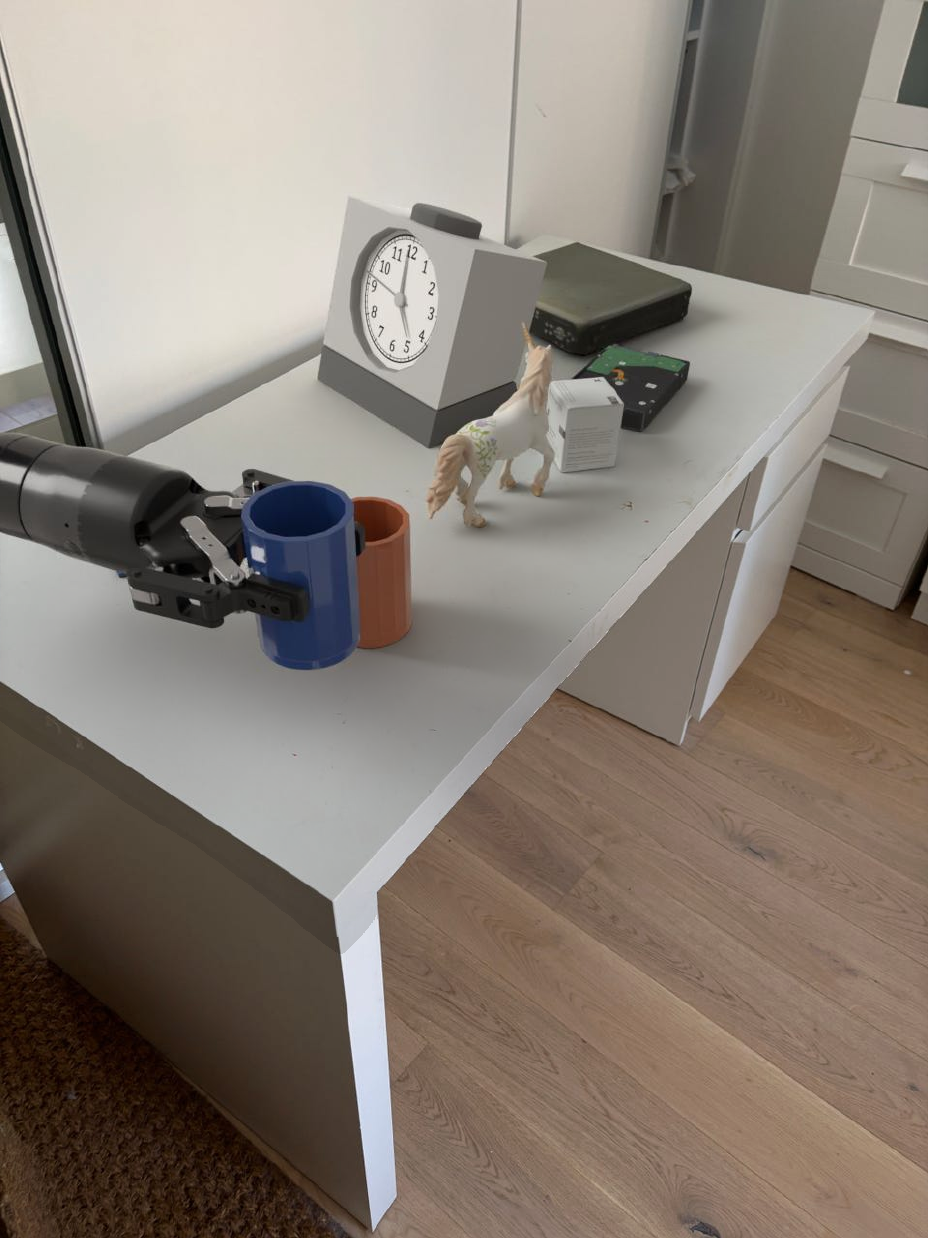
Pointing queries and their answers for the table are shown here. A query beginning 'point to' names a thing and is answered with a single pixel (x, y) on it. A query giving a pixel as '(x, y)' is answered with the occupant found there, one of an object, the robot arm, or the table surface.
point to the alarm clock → (426, 317)
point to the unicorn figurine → (498, 441)
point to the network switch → (602, 299)
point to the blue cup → (306, 570)
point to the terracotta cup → (383, 571)
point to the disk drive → (638, 381)
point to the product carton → (583, 423)
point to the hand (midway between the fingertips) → (335, 572)
